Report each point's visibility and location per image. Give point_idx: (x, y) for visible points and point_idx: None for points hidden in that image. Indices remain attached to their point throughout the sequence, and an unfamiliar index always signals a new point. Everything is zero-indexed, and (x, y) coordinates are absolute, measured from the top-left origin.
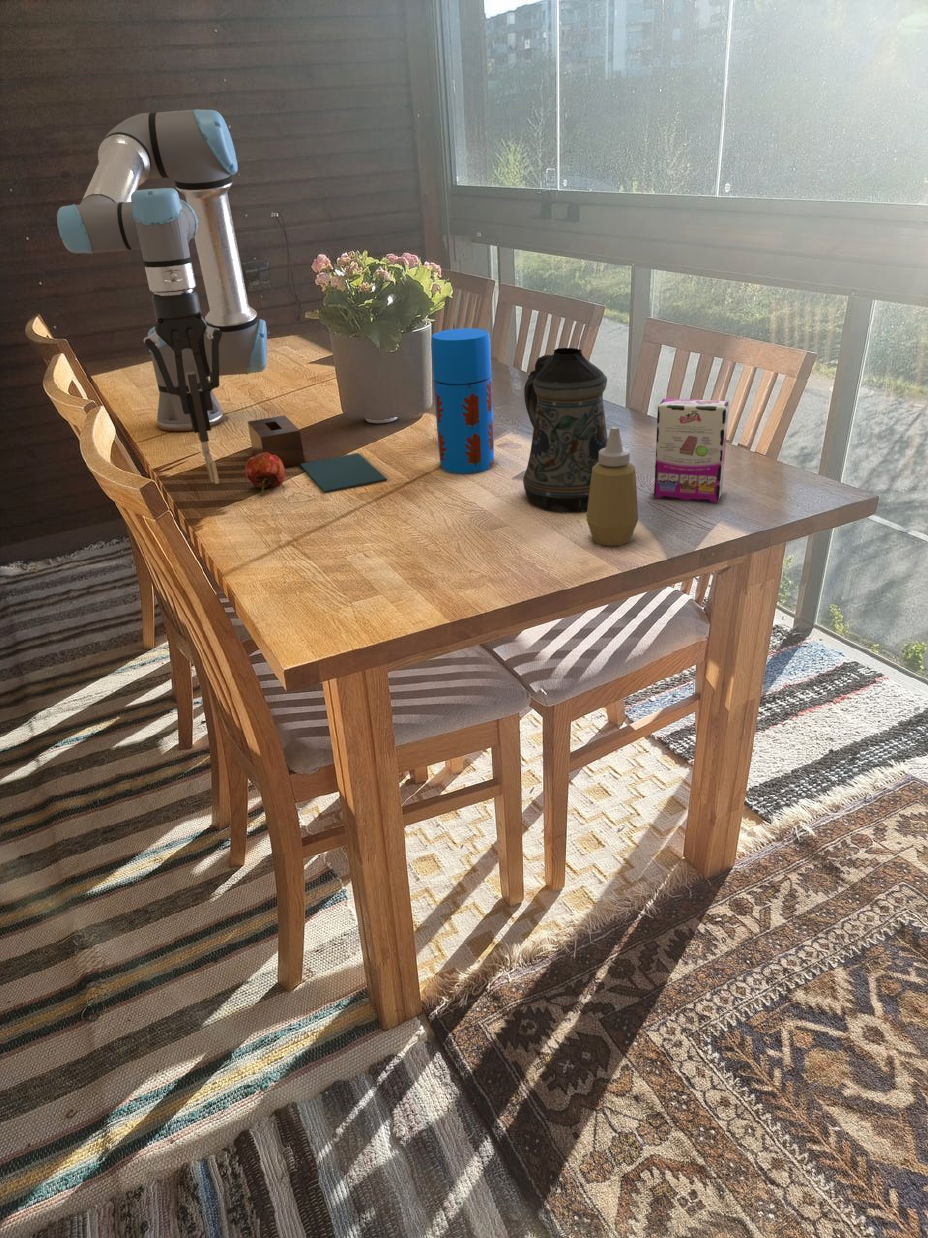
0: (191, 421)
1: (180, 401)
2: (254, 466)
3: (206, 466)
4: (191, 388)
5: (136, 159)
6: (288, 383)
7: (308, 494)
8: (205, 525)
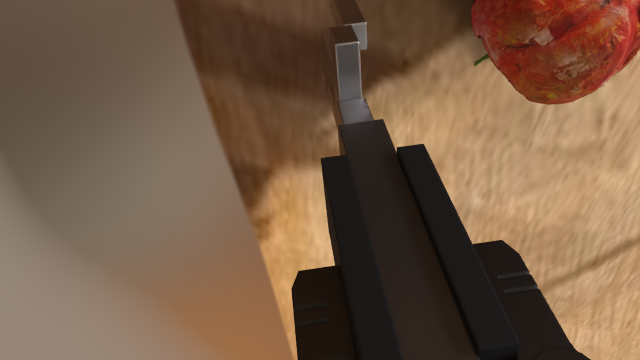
0: (330, 218)
1: (297, 350)
2: (519, 81)
3: (327, 59)
4: None
5: None
6: None
7: (605, 103)
8: (277, 218)
